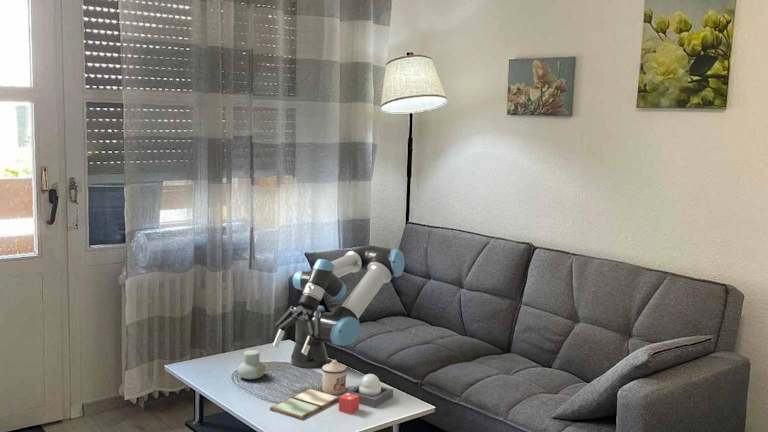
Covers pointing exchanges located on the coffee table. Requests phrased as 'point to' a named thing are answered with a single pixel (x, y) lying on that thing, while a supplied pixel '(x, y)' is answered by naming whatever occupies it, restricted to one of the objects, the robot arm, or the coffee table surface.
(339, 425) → the coffee table surface
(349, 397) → the red die
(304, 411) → the wooden picture frame
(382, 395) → the button bezel
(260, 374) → the air freshener
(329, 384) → the teacup with lid
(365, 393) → the dome button
